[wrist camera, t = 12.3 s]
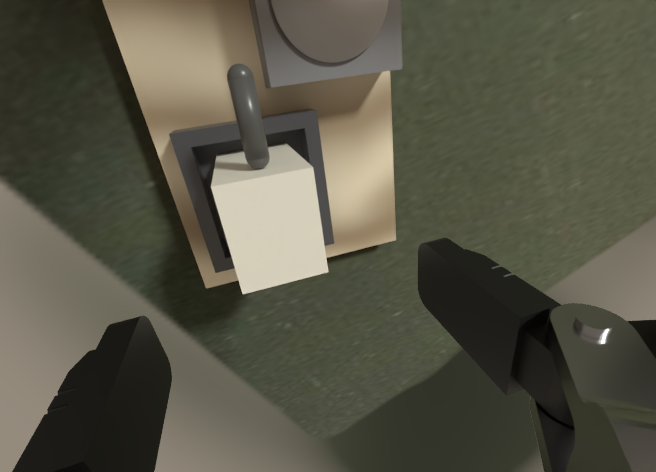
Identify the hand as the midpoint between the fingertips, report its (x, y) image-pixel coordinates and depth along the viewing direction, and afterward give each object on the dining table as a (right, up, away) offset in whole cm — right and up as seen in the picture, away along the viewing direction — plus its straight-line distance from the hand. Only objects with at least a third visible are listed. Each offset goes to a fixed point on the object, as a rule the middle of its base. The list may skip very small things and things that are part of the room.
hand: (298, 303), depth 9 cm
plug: (-3, +6, +10) cm, 12 cm away
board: (-2, +9, +11) cm, 14 cm away
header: (-3, +5, +11) cm, 12 cm away
